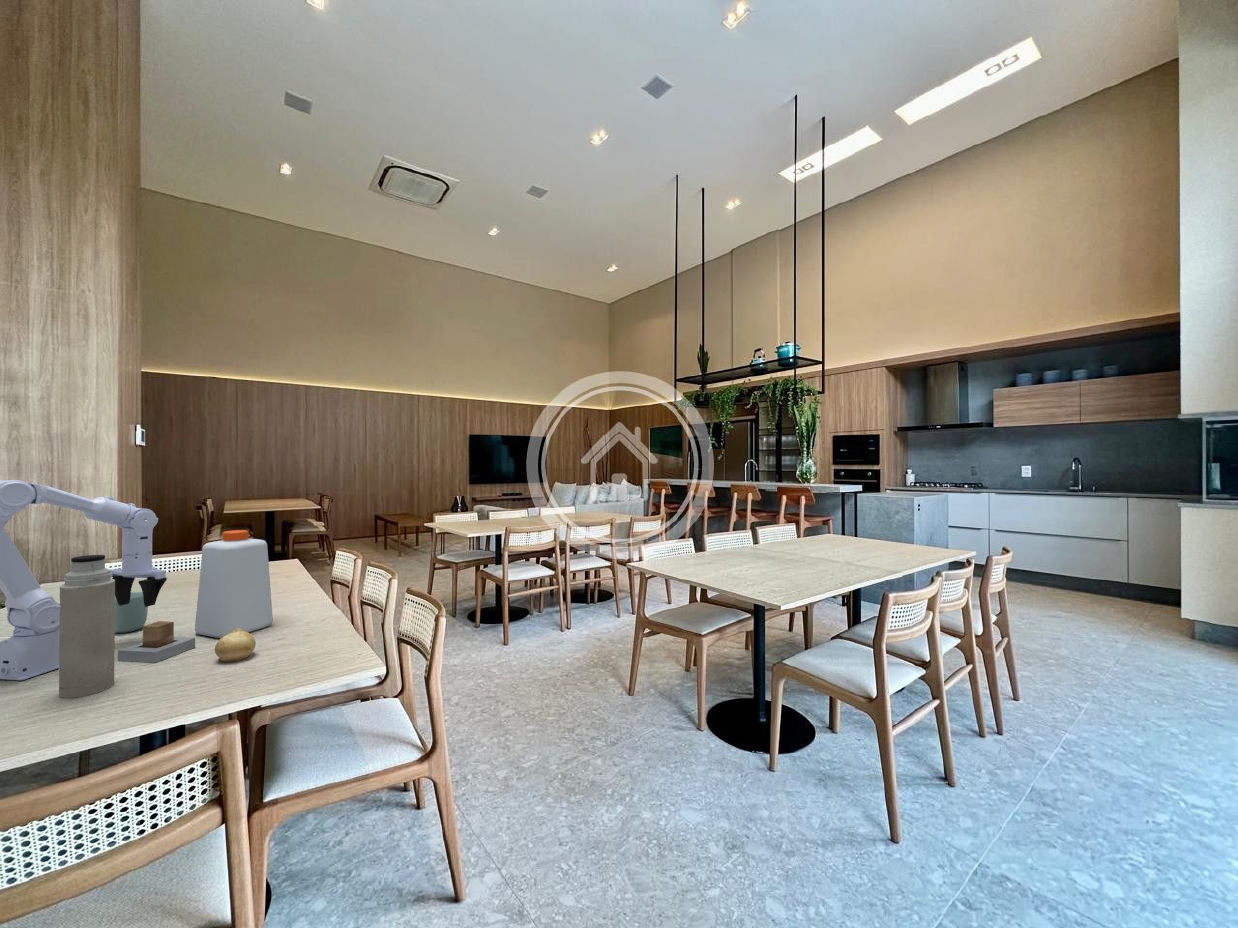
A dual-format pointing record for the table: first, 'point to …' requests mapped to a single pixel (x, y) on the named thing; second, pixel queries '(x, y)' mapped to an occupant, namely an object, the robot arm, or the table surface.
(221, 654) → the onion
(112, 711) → the table surface
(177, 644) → the grey flat square frame
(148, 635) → the wooden rectangular block
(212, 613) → the plastic bottle
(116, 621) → the cup
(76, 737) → the table surface
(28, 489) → the robot arm
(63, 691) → the thermos bottle
